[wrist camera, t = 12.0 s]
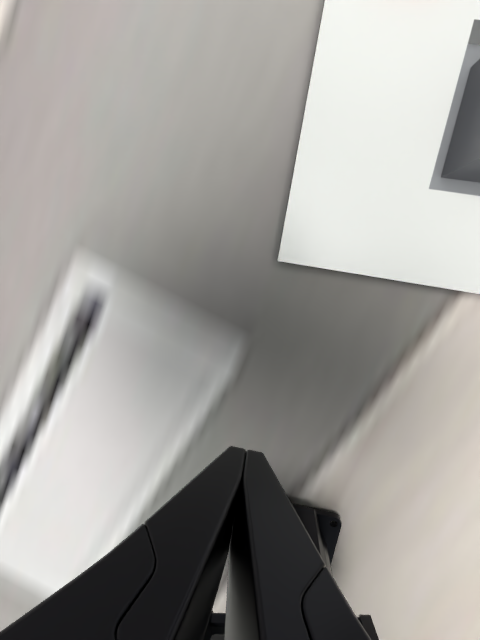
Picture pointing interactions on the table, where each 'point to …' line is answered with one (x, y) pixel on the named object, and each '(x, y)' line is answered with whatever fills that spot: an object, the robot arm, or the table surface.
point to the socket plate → (387, 145)
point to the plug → (466, 134)
